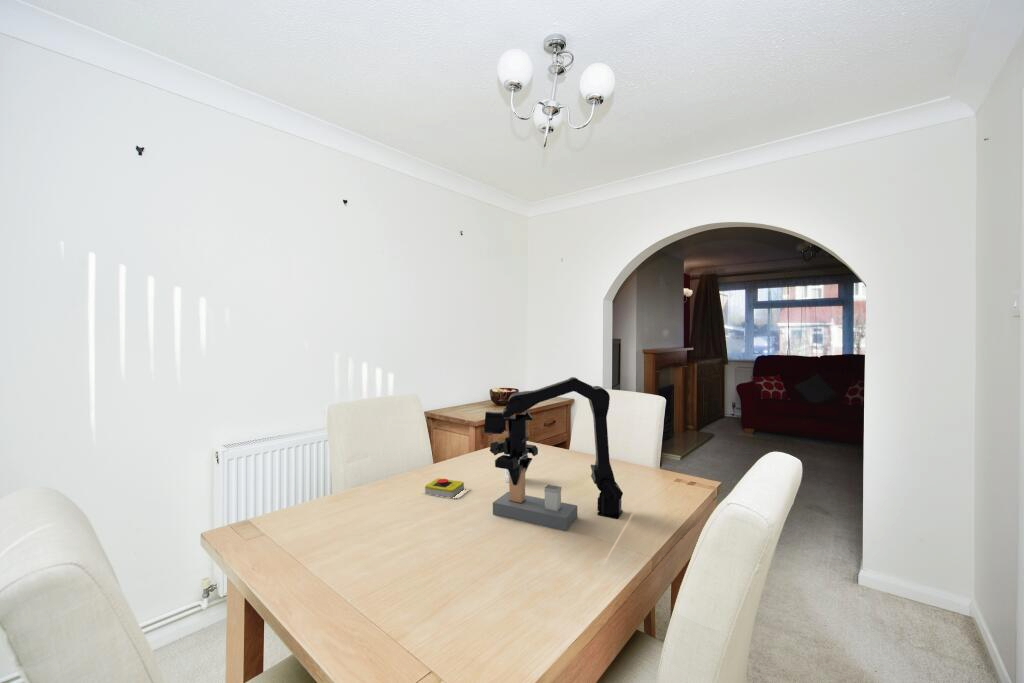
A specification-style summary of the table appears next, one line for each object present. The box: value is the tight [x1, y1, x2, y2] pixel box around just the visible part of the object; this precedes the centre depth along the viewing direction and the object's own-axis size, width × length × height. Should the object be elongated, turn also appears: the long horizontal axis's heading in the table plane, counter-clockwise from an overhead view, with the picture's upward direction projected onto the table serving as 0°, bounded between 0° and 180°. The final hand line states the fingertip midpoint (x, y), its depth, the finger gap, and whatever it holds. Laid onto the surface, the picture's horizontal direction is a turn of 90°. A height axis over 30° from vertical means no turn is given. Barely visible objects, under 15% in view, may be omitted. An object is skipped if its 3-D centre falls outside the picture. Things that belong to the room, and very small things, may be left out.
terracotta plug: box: [508, 468, 527, 503], centre depth 137 cm, size 4×3×10 cm
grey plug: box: [544, 484, 562, 511], centre depth 131 cm, size 4×3×10 cm
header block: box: [492, 491, 578, 532], centre depth 134 cm, size 24×10×4 cm, turn 63°
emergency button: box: [424, 477, 465, 499], centre depth 155 cm, size 9×4×15 cm
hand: (517, 483), depth 136 cm, fingers closed on terracotta plug, 3 cm apart
